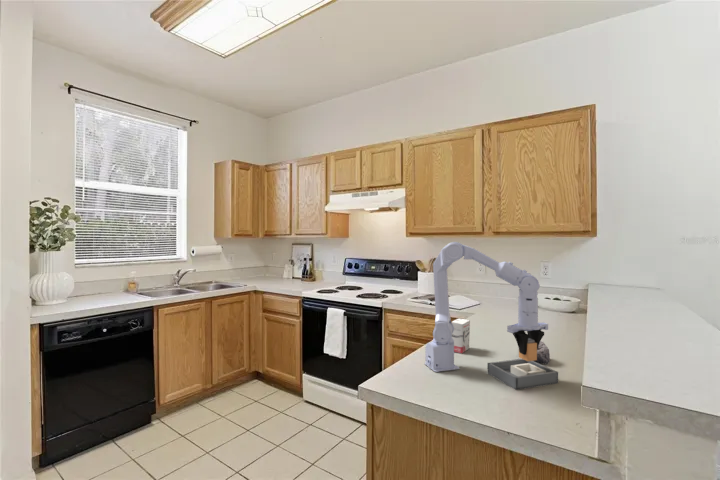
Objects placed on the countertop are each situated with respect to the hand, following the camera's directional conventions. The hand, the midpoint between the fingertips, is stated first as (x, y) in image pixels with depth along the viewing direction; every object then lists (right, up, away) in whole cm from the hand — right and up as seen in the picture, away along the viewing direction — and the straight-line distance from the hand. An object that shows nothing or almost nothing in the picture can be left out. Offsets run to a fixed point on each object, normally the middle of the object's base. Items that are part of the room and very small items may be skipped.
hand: (528, 353), depth 110 cm
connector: (0, -2, 0) cm, 2 cm away
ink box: (-14, -8, +27) cm, 32 cm away
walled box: (-2, -8, -1) cm, 8 cm away
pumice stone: (+9, -8, +15) cm, 20 cm away
